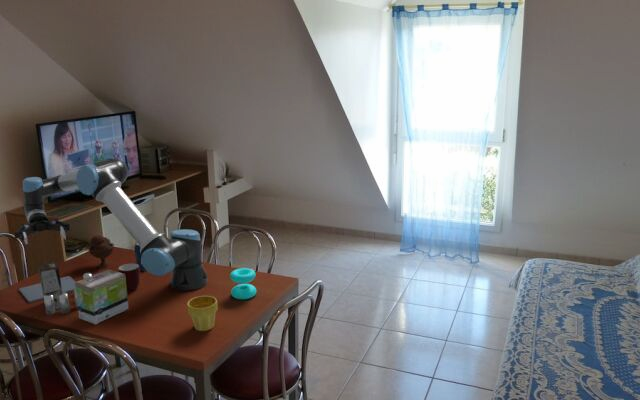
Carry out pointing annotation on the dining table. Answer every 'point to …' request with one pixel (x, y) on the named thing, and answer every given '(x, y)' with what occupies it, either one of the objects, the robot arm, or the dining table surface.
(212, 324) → the plant pot
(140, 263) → the soda can
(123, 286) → the tea box
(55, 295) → the coffee box
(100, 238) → the ice cream bowl
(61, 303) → the posts
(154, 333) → the dining table surface
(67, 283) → the felt mat
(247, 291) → the donuts
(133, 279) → the mug
